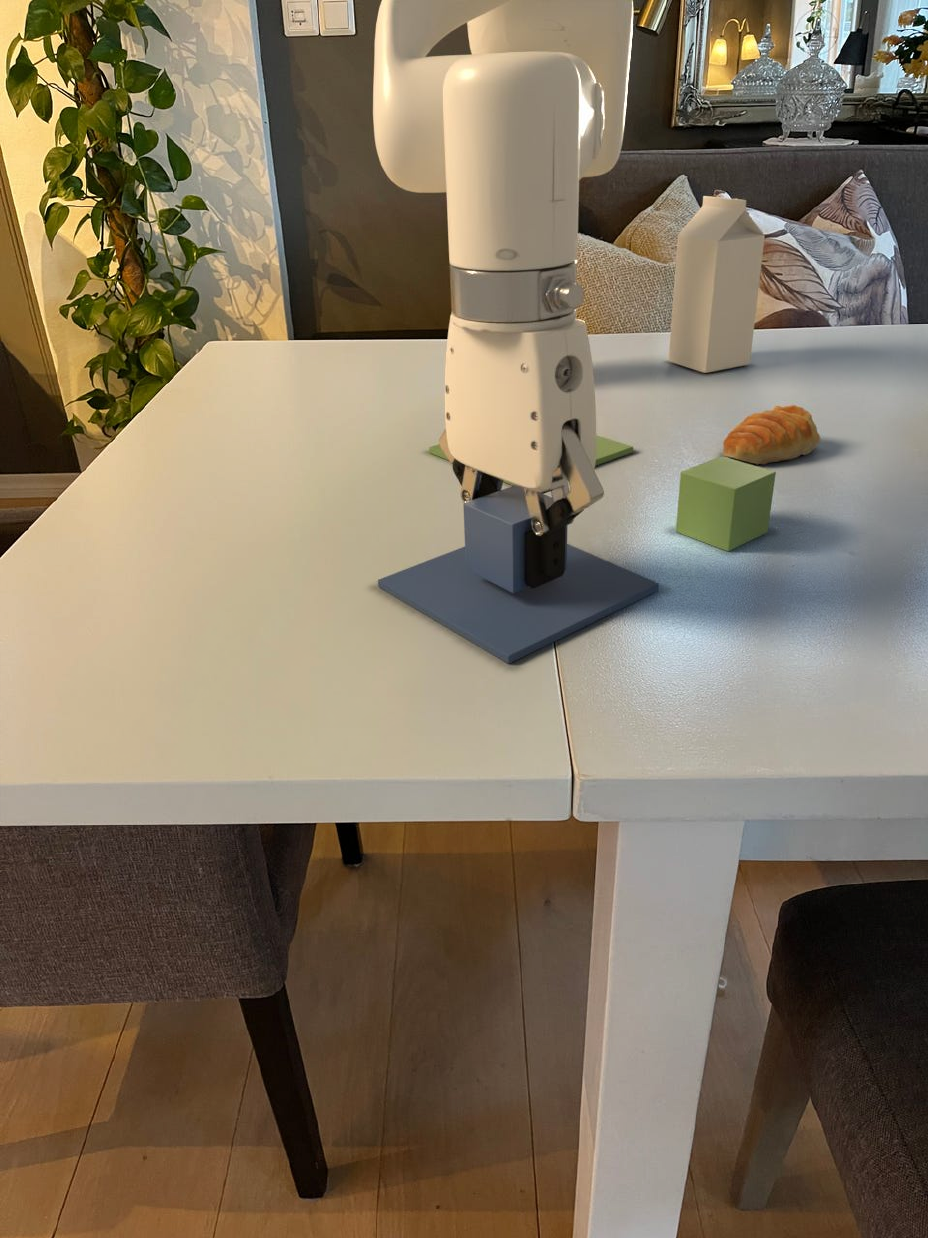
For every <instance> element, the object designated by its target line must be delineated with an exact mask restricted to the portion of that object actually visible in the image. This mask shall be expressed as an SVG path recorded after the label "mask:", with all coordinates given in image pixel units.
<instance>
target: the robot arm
mask: <svg viewBox="0 0 928 1238" xmlns="http://www.w3.org/2000/svg"><path fill="white" fill-rule="evenodd" d="M633 21H634V0H381V1H380V4H379V8H378V13H377V19H376V24H375V35H374V57H373V58H374V59H373V60H374V61H373V87H372V88H373V92H372V119H373V134H374V135H373V136H374V143H375V149H376V154H377V156H378V159H379V163H380V166H381V168H382V169H383V171H384V173H385V175H386V176H387V178H388V179H389V180H390V181H391V182H392V183H393V184H395V186H397V187H398V188H401V189H402V190H404V191H407V192H411V193H418V194H421V193H422V194H425V193H426V194H427V193H428V194H437V193H439V194H440V193H441V194H442V193H446V210H447V211H446V212H447V232H448V233H447V236H448V238H447V239H448V257H449V259H448V260H449V279H450V280H449V282H450V307H451V308H450V309H451V310H450V311H451V314H450V317H449V323H448V332H447V341H446V350H445V351H446V352H445V368H444V369H445V370H444V421H445V428H444V430H443V432H442V434H441V436H440V437H439V440H438V444H439V445H440V447H441V449H442V451H443V452H444V454H445V455H446V457H447V458H448V460H447V461H448V462H449V463H450V465H451V466H452V467H451V468H452V471H453V474H454V475H455V477H456V480H458V483H459V485H460V486H461V488H460V498H461V501H462V503H463V504H464V503H466V502H469V501H472V500H475V499H477V498H480V497H483V496H486V495H489V494H492V493H495V492H497V491H500V490H503V483H504V482H503V480H504V481H506V482H509V483H512V484H514V485H517V486H520V487H522V488H523V489H524V493H525V498H526V503H527V508H528V513H529V518H530V523H531V528H532V530H530V531H528V532H525V584H526V585H527V586H529V587H531V588H536V587H538V586H541V585H543V584H545V583H547V582H550V581H552V580H554V579H557V578H559V577H561V576H562V575H563V574H564V572H565V536H566V525H568V526H569V525H571V524H573V523H574V521H575V519H576V517H578V516H579V515H580V514H581V513H582V512H583V511H584V510H585V509H587V508H588V507H591V506H592V505H594V504H595V503H597V502H599V501H600V500H601V499H603V498H604V495H605V490H604V487H603V485H602V484H601V481H600V479H599V477H598V474H597V473H596V471H595V468H596V466H595V462H596V435H597V408H596V407H597V406H596V389H595V387H596V386H595V375H594V374H595V373H594V367H593V358H592V351H591V345H590V338H589V334H588V329H587V325H586V322H585V321H584V320H582V319H578V318H577V309H578V308H579V307H580V306H581V305H582V303H583V301H584V298H585V297H584V296H585V293H584V292H585V291H584V288H583V287H582V285H581V284H580V283H578V249H579V248H578V244H579V243H578V242H579V201H580V200H579V199H580V196H579V195H580V180H582V179H583V178H589V177H590V178H591V177H599V176H602V175H605V174H607V173H608V172H610V171H611V170H612V169H614V167H615V166H616V164H617V162H618V161H619V158H620V154H621V150H622V146H623V140H624V133H625V122H626V112H627V111H626V110H627V100H628V99H627V98H628V87H629V86H628V85H629V77H630V76H629V73H630V64H631V63H630V62H631V53H632V52H631V51H632V39H633V26H634V24H633V23H634V22H633ZM465 24H466V26H467V35H468V41H469V42H468V43H469V49H470V53H471V54H453V55H433V56H428V54H429V53H430V51H431V50H432V49H433V48H434V47H435V46H436V45H437V44H438V43H439V42H440V41H441V40H442V39H444V38H445V37H446V36H447V35H448V34H450V33H451V32H453V31H454V30H457V29H458V28H459V27H462V26H463V25H465ZM549 492H550V495H551V497H552V500H553V504H552V505H551V506H550V507H549V508H548V509H547V510H546V505H545V500H544V495H545V494H546V493H549ZM543 494H544V495H543Z"/></svg>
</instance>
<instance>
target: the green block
mask: <svg viewBox="0 0 928 1238" xmlns="http://www.w3.org/2000/svg"><path fill="white" fill-rule="evenodd" d="M776 474H777V472H776V471H774V470H771V469H768V468H764V467H761V466H758V465H754V464H752V463H748V462H745V461H741V460H738V459H734V458H731V457H730V458H729V457H728V456H724V455H720V456H717V457H714V458H713V459H710V460H707V461H704V462H702V463H700V464H697V465H694V466H692V467H690V468H687V469H684V470H681V471H680V477H679V487H678V489H679V490H678V501H677V513H676V524H675V532H676V533H678V534H680V535H683V536H686V537H689V538H691V539H694V540H697V541H700V542H702V543H705V544H707V545H710V546H713V547H715V548H717V549H721V550H723V551H727V552H730V551H732V550H734V549H736V548H738V547H740V546H742V545H745V544H746V543H749V542H751V541H752V540H755V539H757V538H759V537H761V536H763V535H765V534H767V533H768V531H769V525H770V517H771V510H772V503H773V495H774V489H775V481H776Z"/></svg>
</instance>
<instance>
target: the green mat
mask: <svg viewBox="0 0 928 1238" xmlns="http://www.w3.org/2000/svg"><path fill="white" fill-rule="evenodd" d="M428 453H429V454H431V455H434V456H437V457H439V458H441V459H443V460H446V461H449V460H448V458H447V457H446V455H445V454H444V452H443V451H442V449H441V447H440V445H439V443H438V444H436V445H431V446H429V447H428ZM632 453H634V446H632V445H629V444H626V443H623V442H619V441H616V440H613V439H610V438H607V437H603V436H600V435H597V434H596V462H595V467H596V466H599V465H602V464H605V463H608V462H610V461H612V460H615V459H618V458H620V457H624V456H627V455H630V454H632ZM503 483H506V484H508V485H511V486H514V484H512V483H509V482H506V481H504V480H503Z"/></svg>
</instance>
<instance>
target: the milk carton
mask: <svg viewBox="0 0 928 1238" xmlns="http://www.w3.org/2000/svg"><path fill="white" fill-rule="evenodd" d="M746 207H747V200H746V199H738V198H729V197H728V198H727V197H718V196H709V195H703V197H702V206H701V207H700V208H699V209H698V210H697V212H696V213H695V214H694V216H693V217H691V219H690V220H689V221H688V222H687V224H686V225H685V226H684V227H683V228H682V229H681V231H680V232H679V233H678V234H677V241H676V255H675V268H674V279H673V281H674V282H673V283H674V284H673V295H672V296H673V297H672V308H671V309H672V310H671V323H670V335H669V336H670V337H669V348H668V350H669V351H668V362H670V363H673V364H675V365H678V366H682V367H685V368H688V369H692V370H694V371H697V372H701V373H705V374H707V373H713V372H718V371H722V370H728V369H734V368H737V367H743V366H747V365H750V364H751V357H752V349H753V340H754V332H755V323H756V314H757V306H758V297H759V288H760V281H761V272H762V262H763V255H764V248H765V246H764V245H765V238H766V237H765V236H766V235H765V234H764V232H763V231H762V230H761V229H760V227H759V226H758V224H757V223H756V222H755V221H754V220H753V218H752V217H751V216H750V214H749V213H748V212H747V211H746V209H747V208H746Z"/></svg>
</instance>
